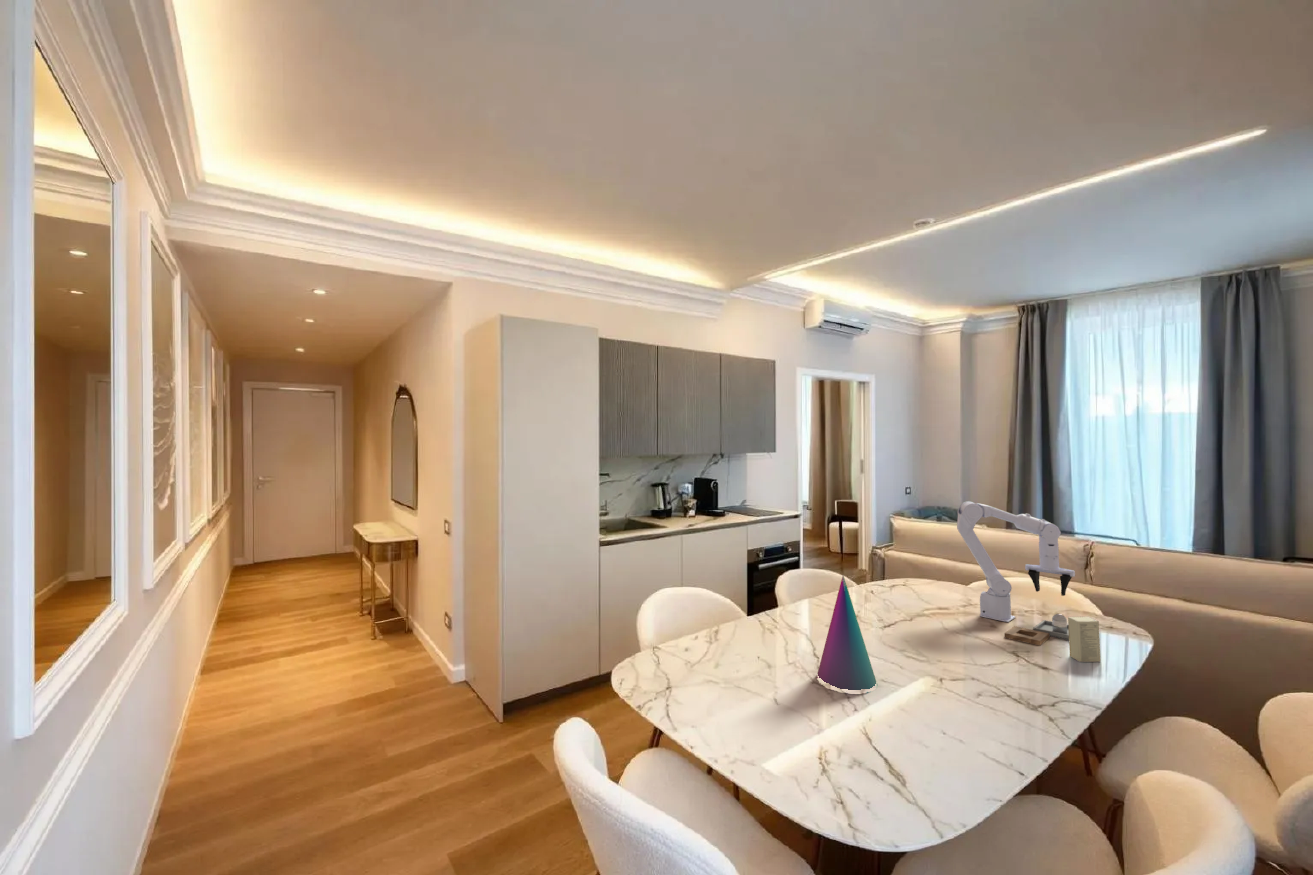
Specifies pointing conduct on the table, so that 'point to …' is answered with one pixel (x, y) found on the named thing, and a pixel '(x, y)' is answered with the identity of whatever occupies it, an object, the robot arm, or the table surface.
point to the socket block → (1036, 637)
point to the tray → (1050, 630)
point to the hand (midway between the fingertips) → (1050, 593)
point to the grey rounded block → (1059, 623)
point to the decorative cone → (845, 648)
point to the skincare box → (1084, 639)
